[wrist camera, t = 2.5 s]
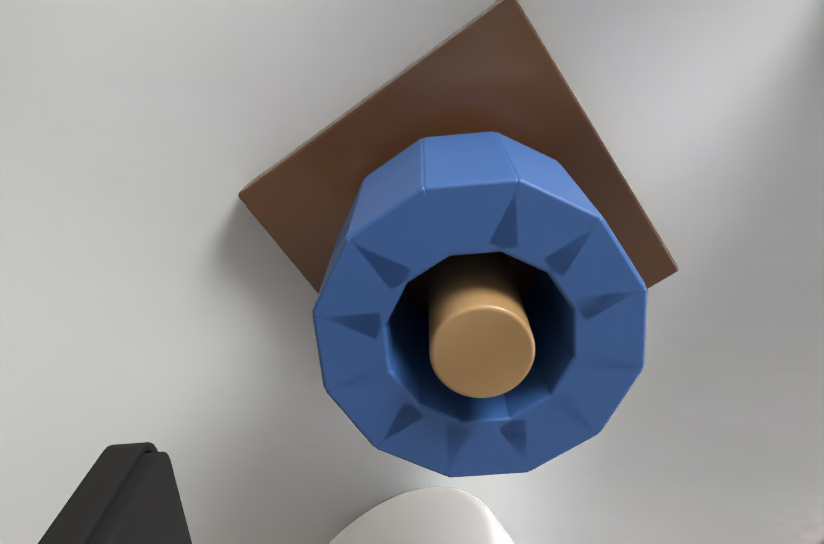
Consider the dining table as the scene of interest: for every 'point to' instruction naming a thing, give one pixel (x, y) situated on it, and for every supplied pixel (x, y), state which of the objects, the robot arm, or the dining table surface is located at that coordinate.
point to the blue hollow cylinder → (544, 302)
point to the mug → (426, 520)
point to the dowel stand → (450, 115)
